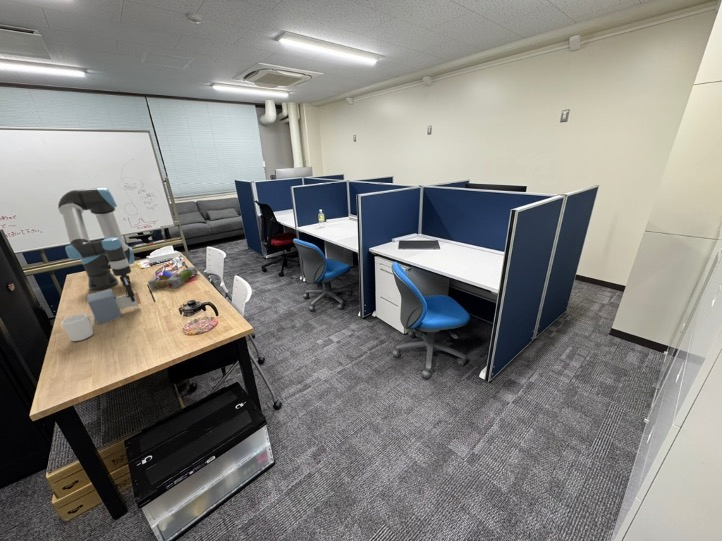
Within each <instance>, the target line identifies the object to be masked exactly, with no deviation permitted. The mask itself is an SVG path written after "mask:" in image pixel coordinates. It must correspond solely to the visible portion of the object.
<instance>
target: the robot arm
mask: <svg viewBox="0 0 722 541" xmlns="http://www.w3.org/2000/svg"><path fill="white" fill-rule="evenodd" d="M57 206H58V207H57V208H58V211H59V213H60V214H61V215H62V216H63V221H64V226H65V228H66V233H67V237H68V241H69V245H66V246H65V252H66V255H67V257H68V258H69V259H70V260H71V261H74V260H80V261H81V265H82V266H83V268H84V271H85V273H86V276H87V277H88V285H87V286H88V288H89V290H90V291H99V290H101V291H103V290H107V289H110V288H111V287H114V286H116V285H117V284H119V281H120V282H121V283H122V285H123V287H124V288H125V290H126V293H127V294H128V296H127V298H128V297H129V299H130V302H131V305H132V306H131V307H132V308H135V307H137V306H139V304H138V303H137V301H136V298H135V295H134V292H135V291H134V290H133V288H132V286H131V284H132V282H131V279H130V276H129V274H131V273H132V269H131V267H130V265H133V264H135V256H134V255H135V254H134V252H133V247H131V246H129V245H128V244H127V243H125V241H124V238H123V236H122V233H121V231H120V228H119V225H118V222H117V220H116V217H115V214H114V213H115V211H116V208H117V207H118V205H117V202H116V201H115V198H114V197H113V195H112V193H111V191H110V190H109V189H108V188H106V187H100V188H99V187H95V188H86V189H85V188H83V189H73V190H70V191H68V192H66V193H65V194H63V195H62V196H61V198H60V200H59V202H58V205H57ZM84 211H90V213H91V214H93V215H95V217H96V220H97V222H98V225H99V228H100V230H101V232H102V235H103V236H104V239H101V240H96V241H90V237H89V235H88V231H87V228H86V225H85V220H84V218H83V213H84ZM117 277H119V279H120V280H118V278H117Z"/></svg>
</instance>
